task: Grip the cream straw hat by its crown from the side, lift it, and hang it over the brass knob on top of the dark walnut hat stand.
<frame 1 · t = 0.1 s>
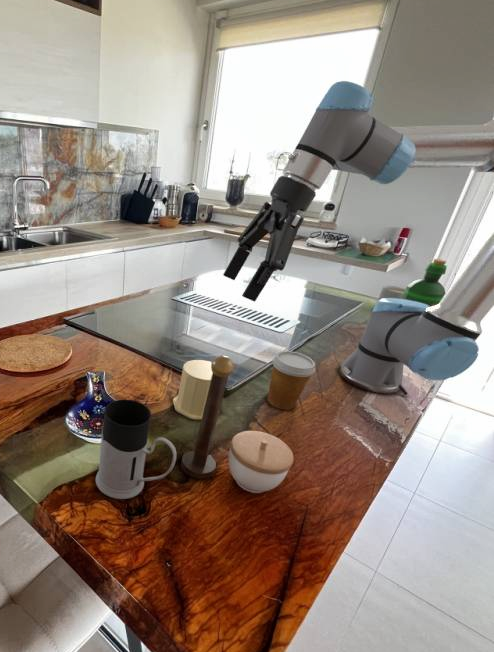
hand: (237, 287, 86), 28 cm above the kitchen island, tool tilted 20°, fingers open, 13 cm apart
disposable coffee cup: (280, 403, 102), on the kitchen island
bottle: (399, 343, 142), on the kitchen island
coffee mug: (388, 313, 169), on the kitchen island
trinket box: (251, 481, 77), on the kitchen island
hat stand: (197, 467, 79), on the kitchen island
glass holder: (131, 489, 73), on the kitchen island
hat: (195, 406, 97), on the kitchen island
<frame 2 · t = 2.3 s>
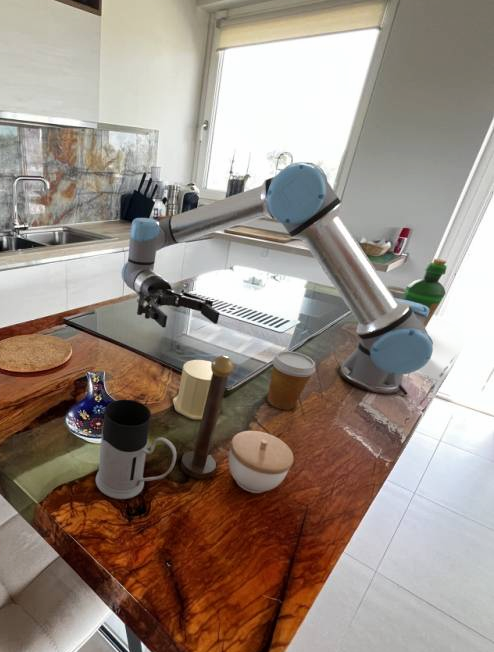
hand: (191, 320, 94), 18 cm above the kitchen island, tool horizontal, fingers open, 13 cm apart
nothing on the kitchen island moved.
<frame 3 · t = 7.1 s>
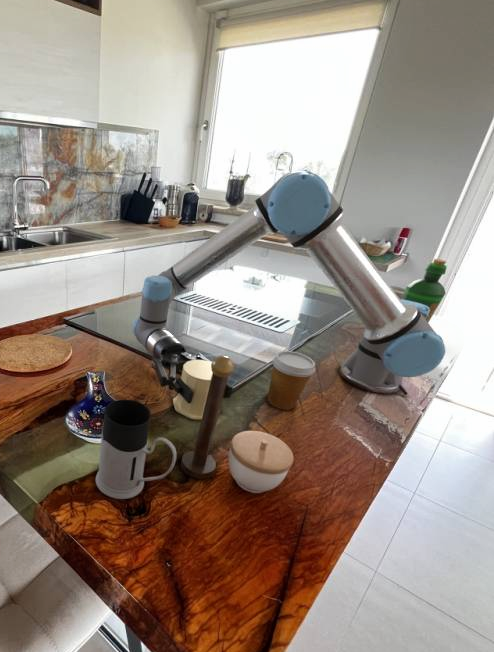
hand: (210, 395, 90), 6 cm above the kitchen island, tool horizontal, fingers closed on hat, 9 cm apart
hat: (195, 406, 97), on the kitchen island, touching gripper
everything else where it was.
when the fingers open (20 cm above the kitchen island, at t = 17.4 s): hat stays where it is, resting on hat stand.
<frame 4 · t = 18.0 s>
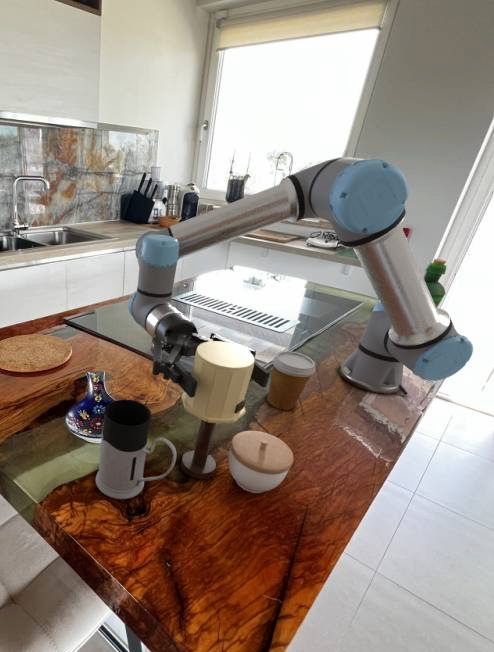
hand: (231, 385, 66), 20 cm above the kitchen island, tool horizontal, fingers open, 13 cm apart
hat: (212, 404, 71), point 14 cm above the kitchen island, touching hat stand
everything else where it was.
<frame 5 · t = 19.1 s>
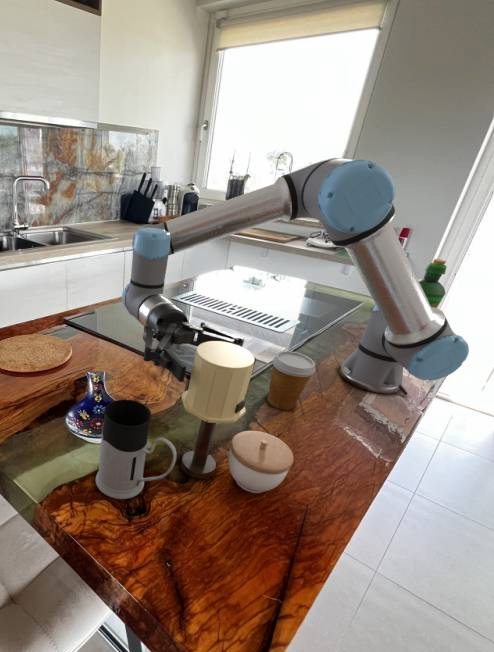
hand: (219, 370, 69), 21 cm above the kitchen island, tool horizontal, fingers open, 13 cm apart
nothing on the kitchen island moved.
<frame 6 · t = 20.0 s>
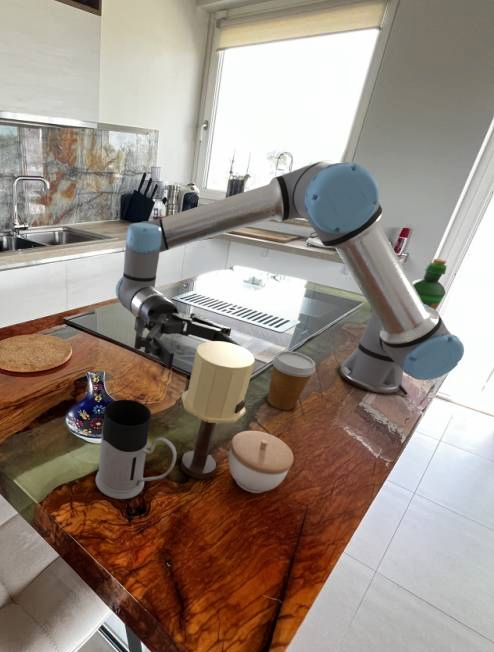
hand: (205, 357, 72), 21 cm above the kitchen island, tool horizontal, fingers open, 13 cm apart
nothing on the kitchen island moved.
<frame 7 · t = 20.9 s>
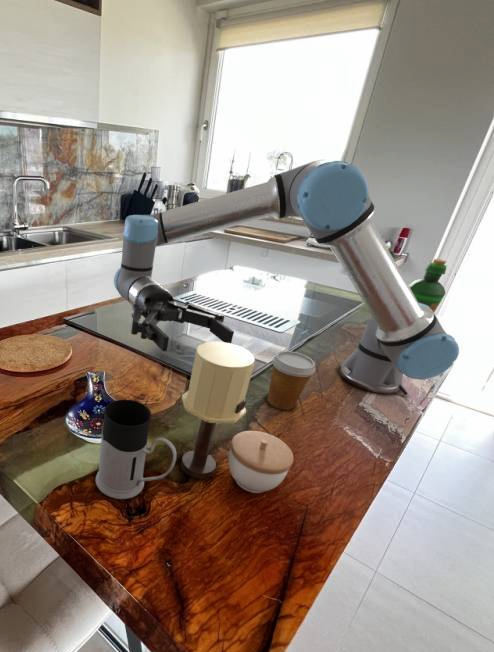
hand: (199, 341, 75), 22 cm above the kitchen island, tool horizontal, fingers open, 13 cm apart
nothing on the kitchen island moved.
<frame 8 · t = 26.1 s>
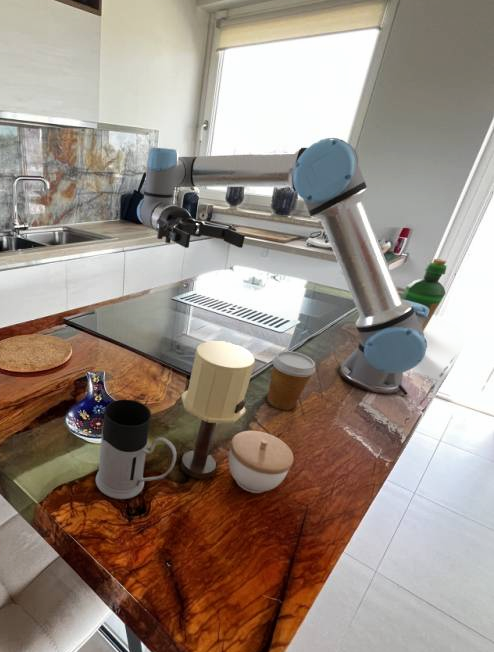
hand: (216, 241, 89), 35 cm above the kitchen island, tool horizontal, fingers open, 13 cm apart
nothing on the kitchen island moved.
at the end: hat 0.1 cm off-centre on the hat stand, point 14.4 cm above the hat stand's base; hat touching hat stand; the gripper is holding nothing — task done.
